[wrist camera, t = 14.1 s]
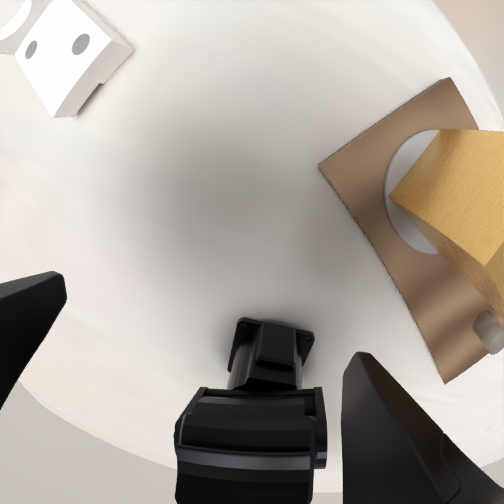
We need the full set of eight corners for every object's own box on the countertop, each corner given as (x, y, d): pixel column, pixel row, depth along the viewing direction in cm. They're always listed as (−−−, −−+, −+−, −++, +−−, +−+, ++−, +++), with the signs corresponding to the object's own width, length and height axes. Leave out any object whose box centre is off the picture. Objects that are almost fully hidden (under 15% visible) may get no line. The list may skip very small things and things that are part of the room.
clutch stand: (518, 313, 19) (545, 345, 14) (440, 375, 23) (458, 415, 18) (440, 79, 14) (488, 67, 8) (317, 165, 17) (332, 177, 12)
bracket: (31, 47, 15) (-22, 41, 8) (74, -7, 13) (24, -27, 6) (80, 117, 18) (13, 120, 11) (136, 51, 16) (74, 25, 9)
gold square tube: (486, 193, 14) (587, 245, 5) (439, 254, 16) (522, 342, 7) (440, 128, 13) (559, 140, 4) (387, 196, 15) (484, 266, 6)
